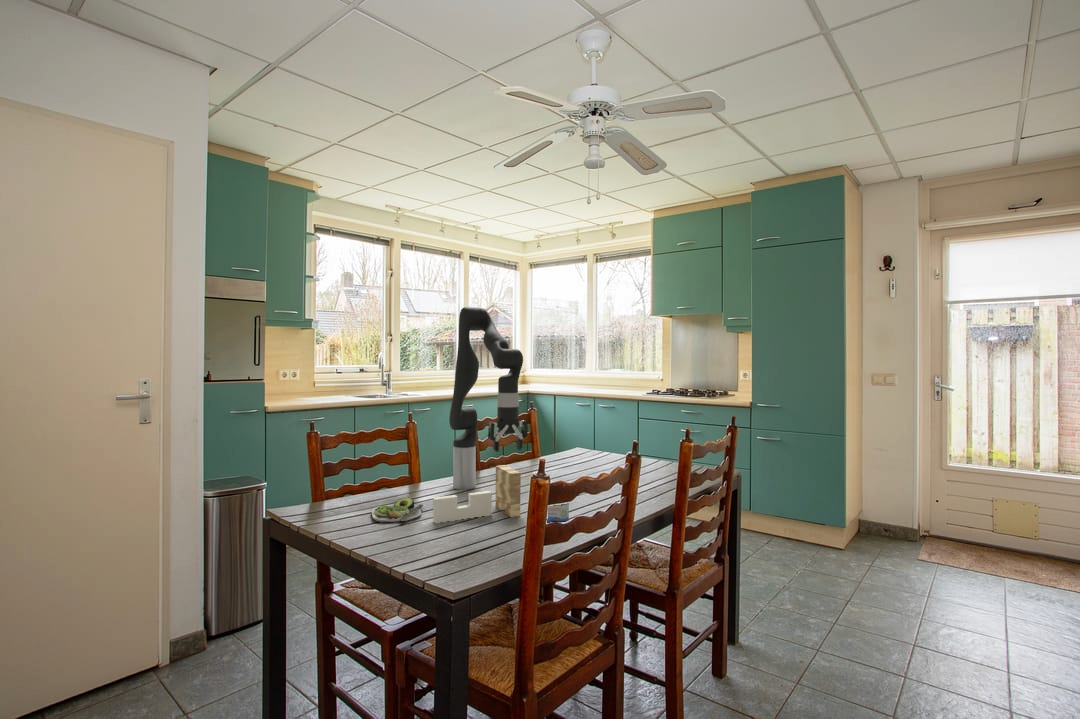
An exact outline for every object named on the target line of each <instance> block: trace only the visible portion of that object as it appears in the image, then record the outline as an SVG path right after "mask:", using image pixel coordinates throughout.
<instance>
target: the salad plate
mask: <svg viewBox="0 0 1080 719" xmlns="http://www.w3.org/2000/svg"><path fill="white" fill-rule="evenodd" d="M423 506H424V505H423V504H418V505H417V504H415V501H414V499H413V498H411V497H402V498H399V499H397V501H395V502H394V504H392V505H384V504H383V505H378V506H376V507H373V508H372V509H371V514H370V515H371V516H372V518H373V520H374V521H376V522H378V521H379V522H378V523H382V522H394V523H398V522H397V521H405V522H408V520H409V521H412V520H414V518H415V519H417V518H419V517H420V516H421V515H422V510H421V509H422V508H423ZM377 516H378V518H377ZM380 516H390V517H391V518H395V519H391V518H390V517H389V518H390V519H385V518H379V517H380ZM411 519H412V520H411Z"/></svg>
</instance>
